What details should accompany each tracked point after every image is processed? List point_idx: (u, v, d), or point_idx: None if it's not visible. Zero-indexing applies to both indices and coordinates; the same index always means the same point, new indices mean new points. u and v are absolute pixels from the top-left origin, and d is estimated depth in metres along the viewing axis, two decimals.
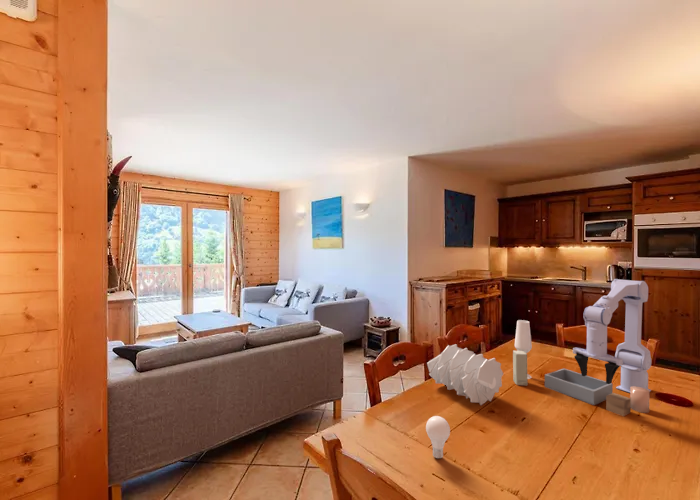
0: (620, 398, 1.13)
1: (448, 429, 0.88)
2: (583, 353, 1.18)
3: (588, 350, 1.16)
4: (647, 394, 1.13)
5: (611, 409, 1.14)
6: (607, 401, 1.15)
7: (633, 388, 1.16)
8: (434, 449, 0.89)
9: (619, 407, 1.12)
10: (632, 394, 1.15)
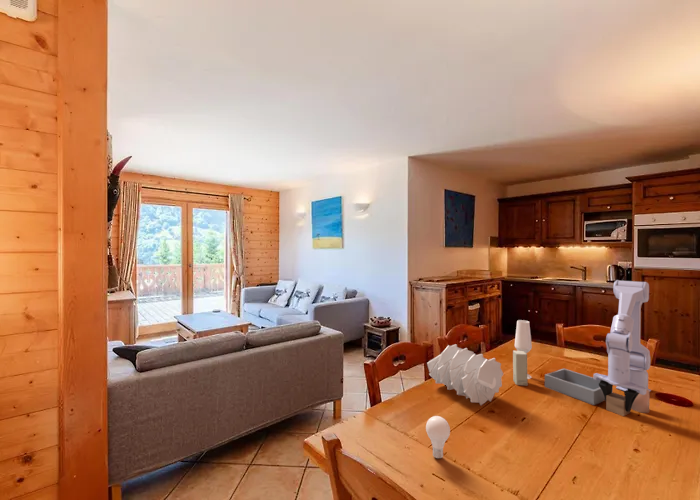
0: (620, 398, 1.13)
1: (448, 429, 0.88)
2: (604, 380, 1.16)
3: (610, 377, 1.14)
4: (647, 394, 1.13)
5: (611, 409, 1.14)
6: (607, 401, 1.15)
7: None
8: (434, 449, 0.89)
9: (619, 407, 1.12)
10: None
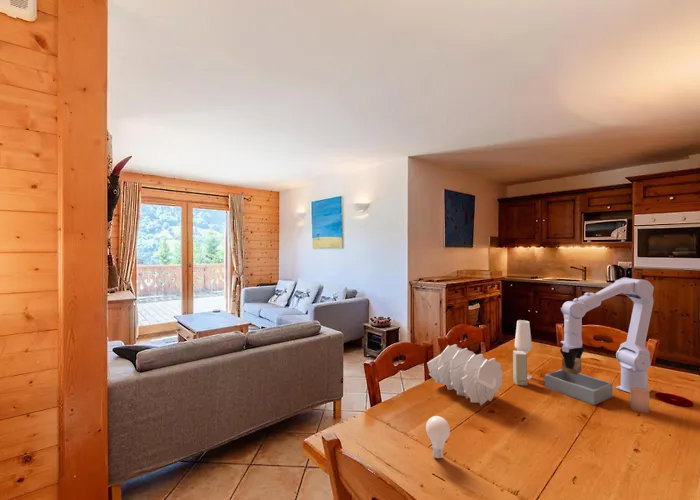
0: None
1: (448, 429, 0.88)
2: None
3: None
4: (647, 394, 1.13)
5: None
6: None
7: (633, 388, 1.16)
8: (434, 449, 0.89)
9: None
10: (632, 394, 1.15)
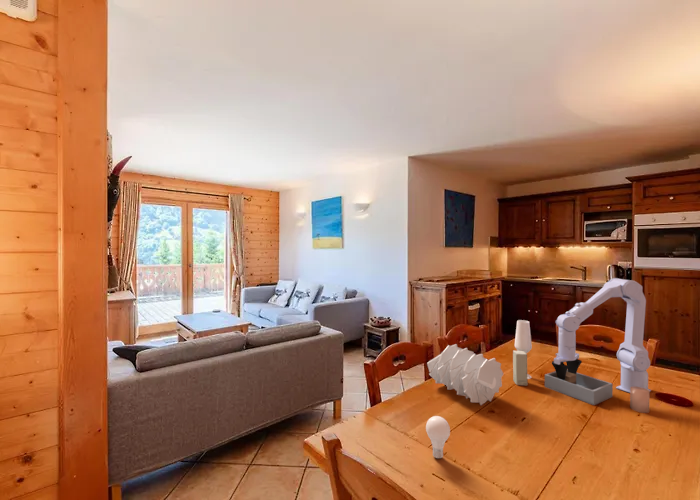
0: None
1: (448, 429, 0.88)
2: None
3: None
4: (647, 394, 1.13)
5: None
6: None
7: (633, 388, 1.16)
8: (434, 449, 0.89)
9: None
10: (632, 394, 1.15)
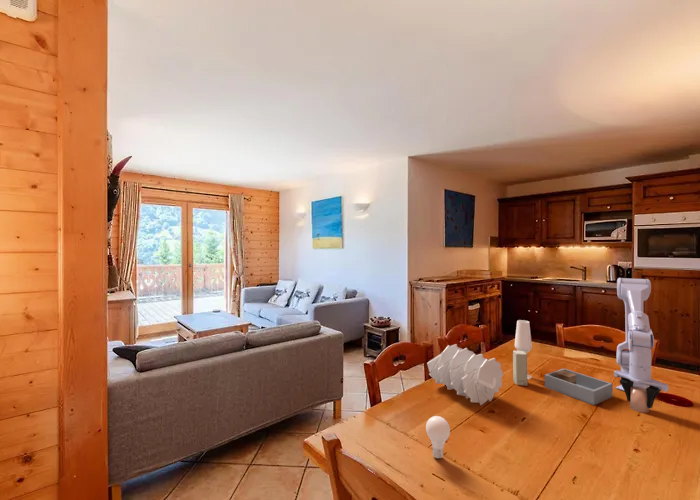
0: (564, 373, 1.33)
1: (448, 429, 0.88)
2: (626, 377, 1.17)
3: (631, 374, 1.15)
4: None
5: None
6: None
7: (633, 388, 1.16)
8: (434, 449, 0.89)
9: None
10: (632, 394, 1.15)
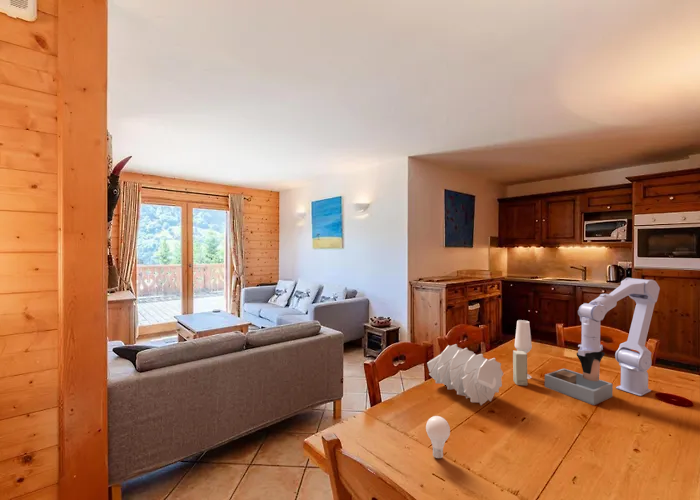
0: (564, 373, 1.33)
1: (448, 429, 0.88)
2: None
3: None
4: None
5: None
6: None
7: None
8: (434, 449, 0.89)
9: None
10: None
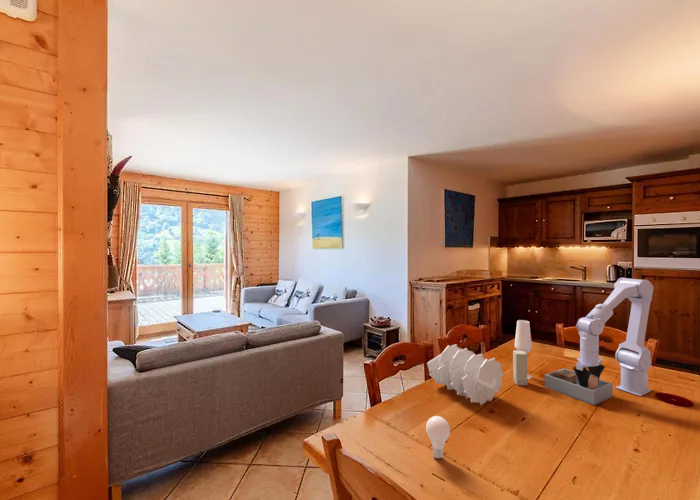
0: (564, 373, 1.33)
1: (448, 429, 0.88)
2: None
3: None
4: None
5: None
6: None
7: None
8: (434, 449, 0.89)
9: None
10: None
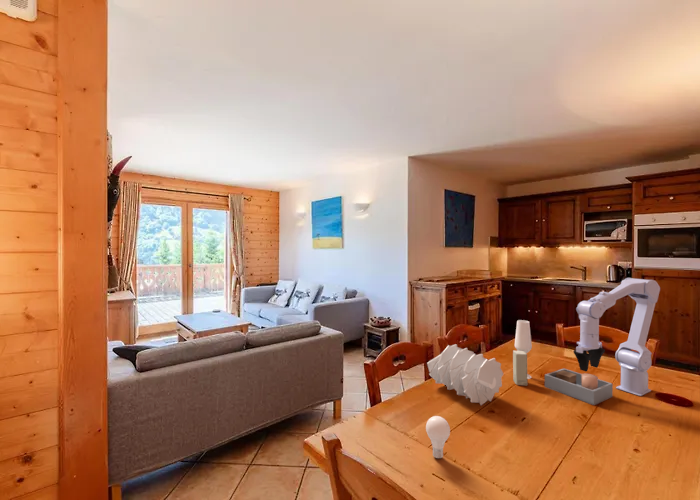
0: (564, 373, 1.33)
1: (448, 429, 0.88)
2: None
3: None
4: (584, 378, 1.25)
5: None
6: None
7: (589, 374, 1.27)
8: (434, 449, 0.89)
9: None
10: None
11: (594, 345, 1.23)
